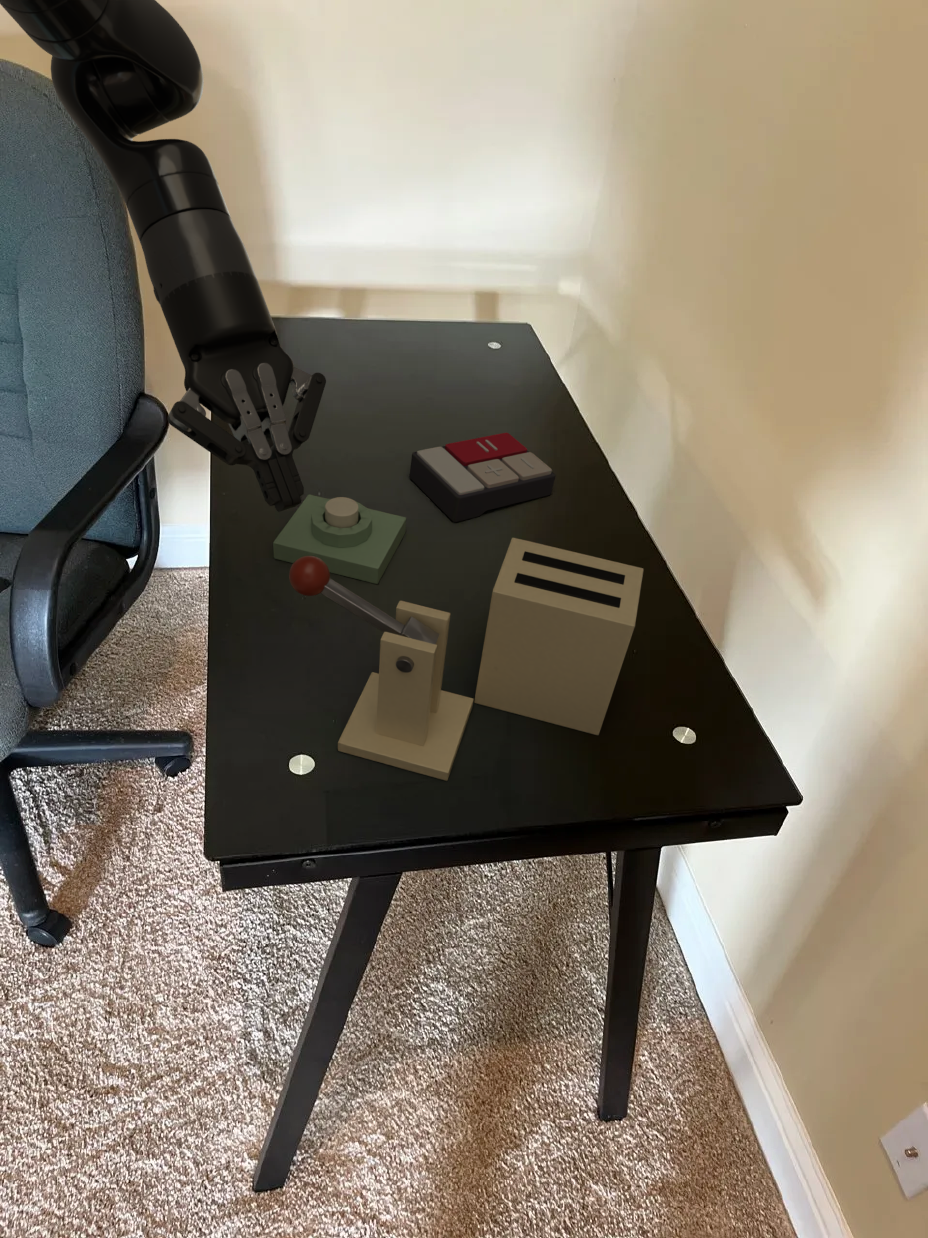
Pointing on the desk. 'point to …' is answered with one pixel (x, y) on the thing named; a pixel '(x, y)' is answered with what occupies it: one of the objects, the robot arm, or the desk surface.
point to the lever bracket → (409, 703)
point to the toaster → (557, 635)
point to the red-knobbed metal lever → (352, 600)
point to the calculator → (480, 475)
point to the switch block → (342, 540)
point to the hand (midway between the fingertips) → (289, 507)
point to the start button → (341, 512)
